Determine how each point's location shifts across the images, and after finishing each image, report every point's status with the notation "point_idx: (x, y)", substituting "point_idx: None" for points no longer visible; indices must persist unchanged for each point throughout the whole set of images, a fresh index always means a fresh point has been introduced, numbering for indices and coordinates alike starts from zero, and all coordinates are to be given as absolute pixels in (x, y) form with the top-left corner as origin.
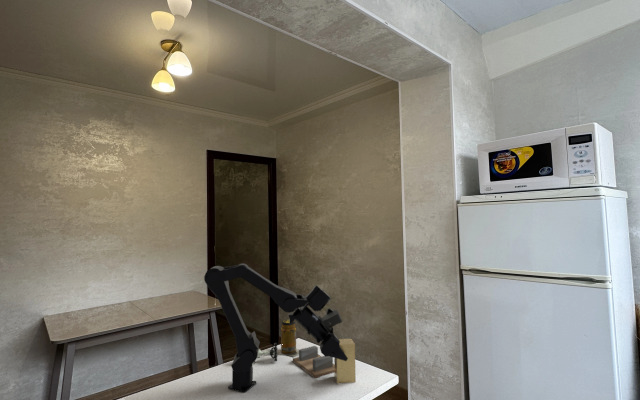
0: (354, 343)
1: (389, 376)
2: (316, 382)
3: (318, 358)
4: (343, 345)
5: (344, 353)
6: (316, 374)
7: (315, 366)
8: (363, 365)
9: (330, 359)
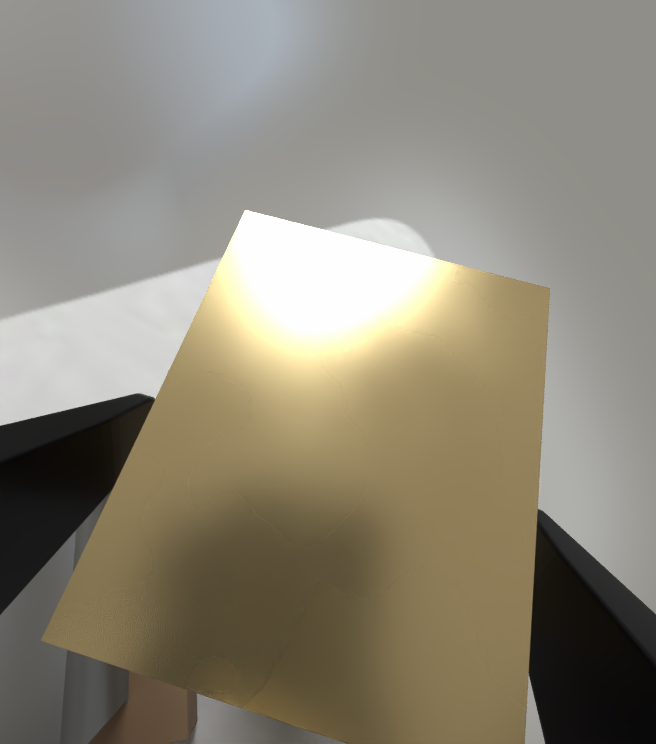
0: (528, 286)
1: (393, 230)
2: (272, 739)
3: (17, 697)
4: (519, 545)
5: (620, 592)
6: (186, 717)
7: (95, 730)
8: (207, 274)
9: (93, 518)
